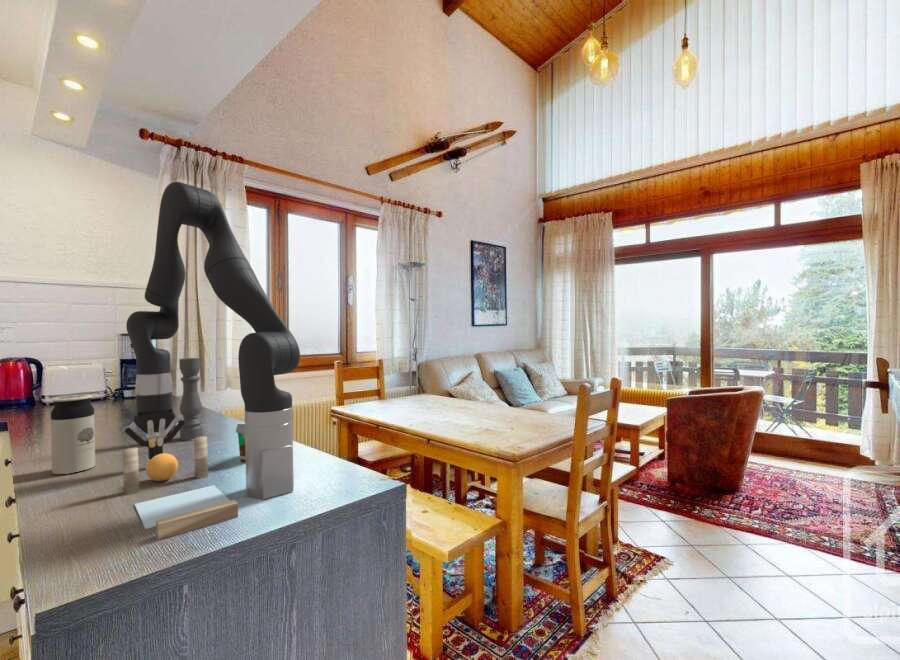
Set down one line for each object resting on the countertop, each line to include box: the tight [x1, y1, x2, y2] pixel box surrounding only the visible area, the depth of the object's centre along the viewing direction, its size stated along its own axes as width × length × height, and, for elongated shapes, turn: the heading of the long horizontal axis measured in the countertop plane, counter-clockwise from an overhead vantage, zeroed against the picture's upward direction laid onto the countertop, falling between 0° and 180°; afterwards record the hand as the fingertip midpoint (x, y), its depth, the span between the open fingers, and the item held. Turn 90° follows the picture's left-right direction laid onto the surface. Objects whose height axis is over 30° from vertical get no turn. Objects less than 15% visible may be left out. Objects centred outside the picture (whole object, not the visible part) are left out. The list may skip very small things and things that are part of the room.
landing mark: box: [134, 484, 231, 530], centre depth 83 cm, size 14×14×1 cm
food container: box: [235, 423, 246, 463], centre depth 113 cm, size 12×6×10 cm, turn 168°
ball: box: [145, 452, 179, 482], centre depth 97 cm, size 6×6×6 cm
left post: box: [122, 446, 140, 495], centre depth 90 cm, size 3×3×9 cm
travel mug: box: [50, 394, 96, 475], centre depth 105 cm, size 8×8×18 cm
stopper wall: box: [155, 499, 239, 541], centre depth 74 cm, size 2×12×2 cm, turn 133°
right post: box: [193, 435, 209, 479], centre depth 99 cm, size 3×3×9 cm
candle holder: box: [178, 357, 204, 441], centre depth 134 cm, size 6×6×25 cm
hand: (155, 460), depth 106 cm, fingers closed
